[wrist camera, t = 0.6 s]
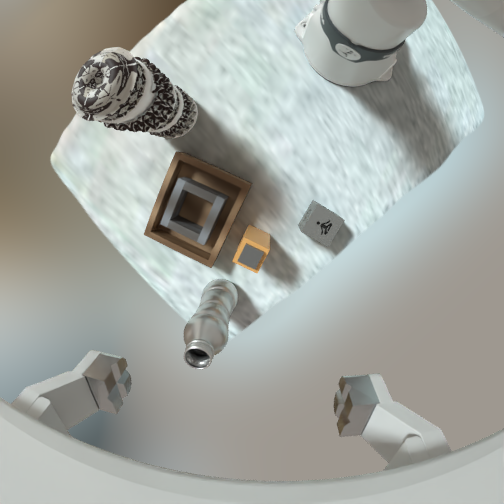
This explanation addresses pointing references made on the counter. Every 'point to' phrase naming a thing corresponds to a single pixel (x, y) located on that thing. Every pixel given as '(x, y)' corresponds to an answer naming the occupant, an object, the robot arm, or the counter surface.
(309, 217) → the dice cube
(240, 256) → the block
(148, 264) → the counter surface
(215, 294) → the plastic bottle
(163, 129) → the decorative candle
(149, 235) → the walled box
